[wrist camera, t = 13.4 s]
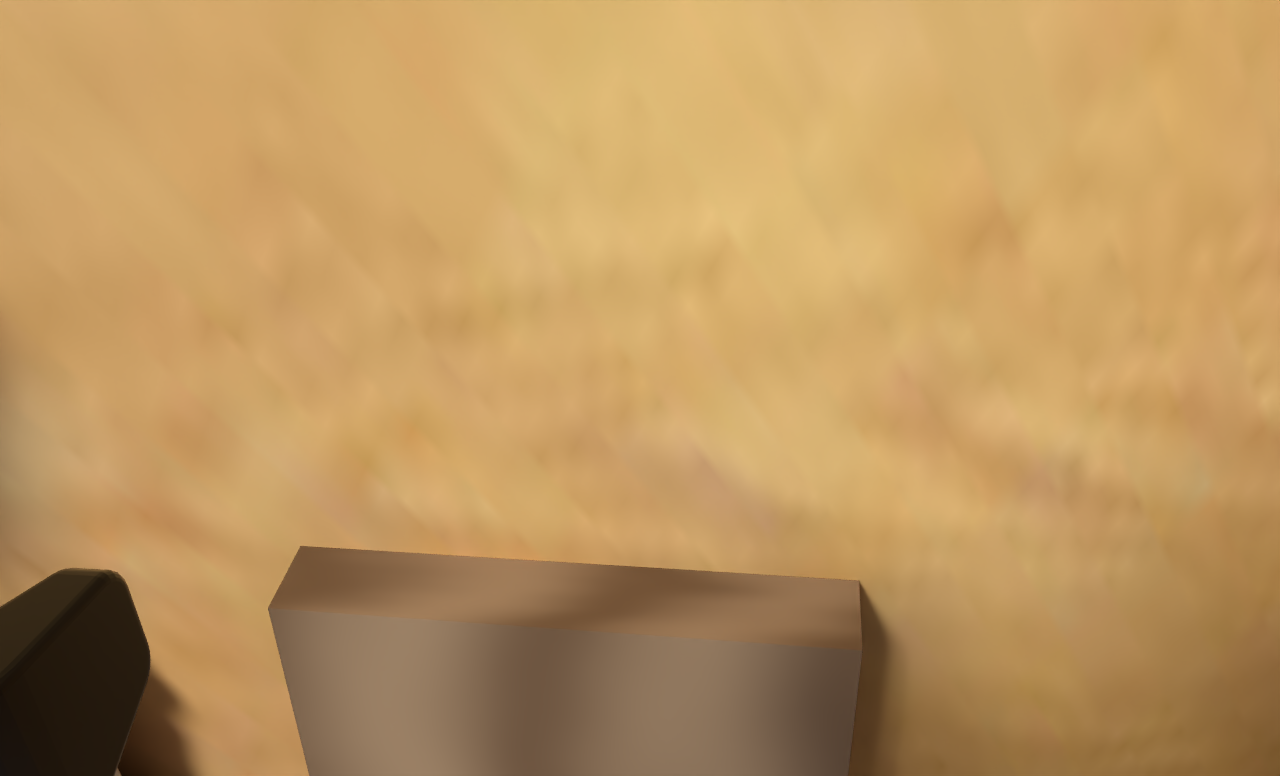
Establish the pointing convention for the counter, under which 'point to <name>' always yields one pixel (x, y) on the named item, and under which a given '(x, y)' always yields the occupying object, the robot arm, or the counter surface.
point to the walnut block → (564, 667)
